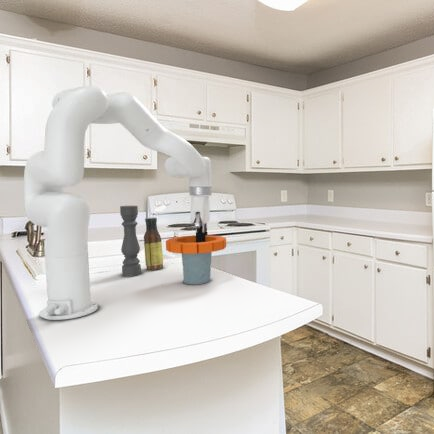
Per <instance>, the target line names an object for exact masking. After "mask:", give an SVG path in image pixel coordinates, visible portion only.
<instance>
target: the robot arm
mask: <svg viewBox="0 0 434 434" xmlns="http://www.w3.org/2000/svg"><path fill="white" fill-rule="evenodd" d="M51 106H52V109H51V111H50V112H49V114H48V117H47V119H46V123H45V130H44V131H45V132H44V147H43V150H40V151H38V152H35V153H34V154H32V155H31V156H30V157H29V158H28V159H27V161H26V163H25V165H24V166H25V167H24V171H23V172H24V173H23V203H24V206H23V207H24V212H25V215H26V217H27V219H28V220H29V221H30V222H31V223H32V224H33V225H35V226H38V227H42V228H46V232H45V237H44V243H43V244H44V249H43V251H44V261H45V262H44V263H45V278H46V291H47V293H46V294H47V306H46V307H45V308H43V309H41V310H39V317H41V318H43V319H44V320H50V321H61V320H62V321H63V320H71V319H77V318H80V317H81V318H82V317H85V316H89V315H90V314H92V313H95V312H96V311H97V310H98V307H99V306H98V302H96V301H92V300H91V299H92V297H91V280H90V279H91V278H90V264H89V261H90V260H89V249H88V248H89V246H88V245H89V244H88V235H89V234H88V233H89V224H90V217H91V213H90V212H91V211H90V207H89V205H88V203H87V201H86V200H85V199H84V198H83V197H82V196H80V195H78V194H75V193H72V192H65V188H71V187H74V186H77V185H78V184H79V185H80V183H81V182H82V180H83V179H84V176H85V175H84V174H85V139H86V138H85V137H86V132H87V129H88V128H89V126H90V124H93V125H96V124H97V125H113V124H120V125H121V126H123V128H124V129H126V130H127V132H129V134H131V135H132V136H133V138H134V139H136V140H137V141H138V142H139V144H141V145H142V146H143V147H144V148H147V149H149V150H152V151H155V152H159V153H162V154H165V155H167V156H169V157H168V158H166V160H165V161H164V171H165V172H166V173H167V175H168V176H170V177H173V178H177V179H185V178H186V179H188V189H189V191H188V193H189V197H190V224H191V225H195V236H196V243H199V242H206V241H205V235H209V234H208V233H209V232H208V223H209V222H210V219H211V216H210V215H211V214H210V213H211V209H210V197H212V195H213V193H212V161H211V158H210V157H207V156H202V155H201V154H200V153H199V151H198V150H197V149H196V148H195V147H194V146H193V145H192V144H191V143H190V142H188V141H187V140H186V139H184V138H183V137H181V136H179V135H178V134H176V133H174V132H173V131H171V130H170V129H168V128H166V127H164V126H163V125H162V124H161V122H160V121H159V120H158V119H157V118H156V117H155V115H154V114H152V113H151V111H149V109H148V108H147V107H146V106H145V105H144V104H143V103H142V102H141V101H140V100H139V99H138V98H137V97H136V96H135V95H134V94H132V93H130V92H115V93H109V94H108V93H106V92H105V91H104V90H103V89H101V88H100V87H97V86H93V85H84V86H79V87H74V88H70V89H69V88H68V89H64V90H61V91H59V92H57V93H56V94H55V95H54V96H53V99H52V101H51Z"/></svg>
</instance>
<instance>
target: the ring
mask: <svg viewBox="0 0 434 434" xmlns="http://www.w3.org/2000/svg"><path fill="white" fill-rule="evenodd" d="M205 241H206V242H199V243H196V234H195V235H182V236H176V237H171V238H168V239H167V240H165V250H166V251H167V252H169V253H173V254H181V255H182V253H183V254H197V253H207V252H212V253H213V252H218V251H222V250H225V249H226V248H227V238H226V237H225V236H221V235H214V234H213V235H212V234H211V235H210V234H208V235H205Z"/></svg>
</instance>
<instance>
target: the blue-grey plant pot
mask: <svg viewBox="0 0 434 434" xmlns="http://www.w3.org/2000/svg"><path fill="white" fill-rule="evenodd" d="M212 253H213V252H207V253H197V254H183V253H181V263H182V273H183V283H184V284H186V285H203V284H207V283H209V282H210V281H211V271H212V270H211V269H212V267H211V266H212Z"/></svg>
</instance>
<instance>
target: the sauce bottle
mask: <svg viewBox="0 0 434 434" xmlns="http://www.w3.org/2000/svg"><path fill="white" fill-rule="evenodd" d="M144 222H145V233H144V235H143V248H144V258H145V259H144V260H145V266H146V267H145V268H146V270H148V271H156V270H157V271H158V270H161V269H163V268H164V255H163V245H162V244H163V243H162V236H161V234H160V233H159V231H158V224H157V222H158V218H157V217H154V216H153V217H152V216H151V217H145V218H144Z"/></svg>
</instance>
